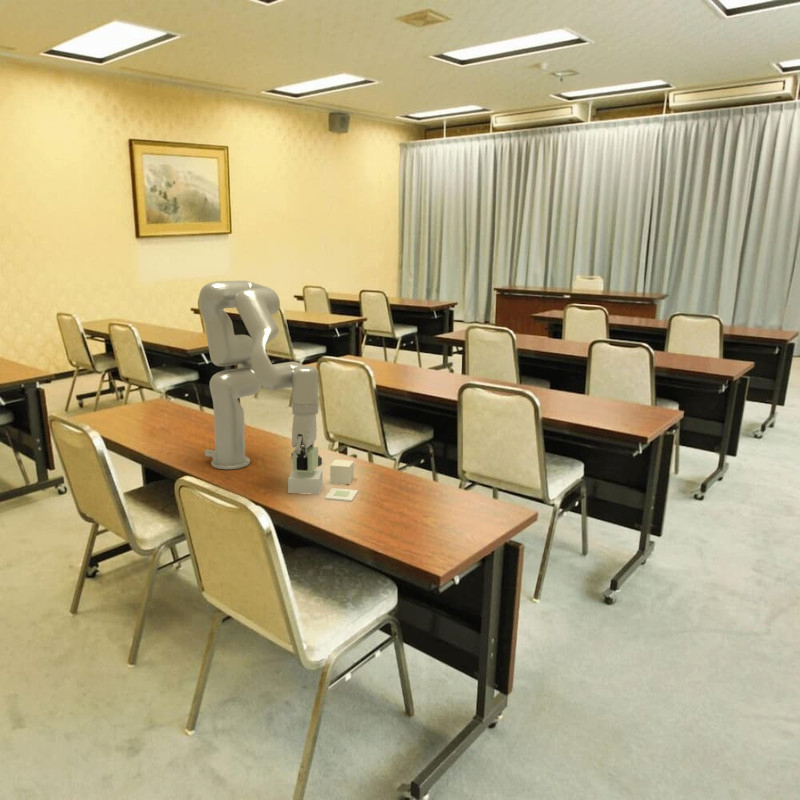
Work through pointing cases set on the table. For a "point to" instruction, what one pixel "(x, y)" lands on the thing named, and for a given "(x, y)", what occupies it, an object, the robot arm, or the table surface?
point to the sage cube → (312, 459)
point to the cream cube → (342, 471)
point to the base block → (305, 482)
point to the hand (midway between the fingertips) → (305, 465)
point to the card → (341, 494)
